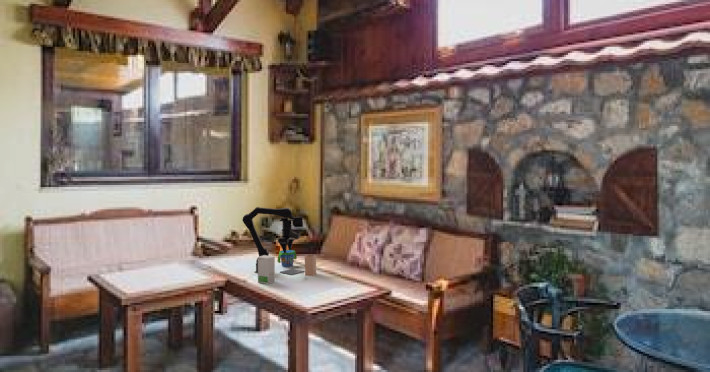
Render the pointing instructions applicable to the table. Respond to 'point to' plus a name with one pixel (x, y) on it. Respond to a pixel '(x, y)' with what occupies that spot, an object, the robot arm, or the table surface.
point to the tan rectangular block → (310, 265)
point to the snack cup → (287, 258)
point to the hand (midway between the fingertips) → (287, 251)
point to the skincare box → (266, 269)
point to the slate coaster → (292, 271)
